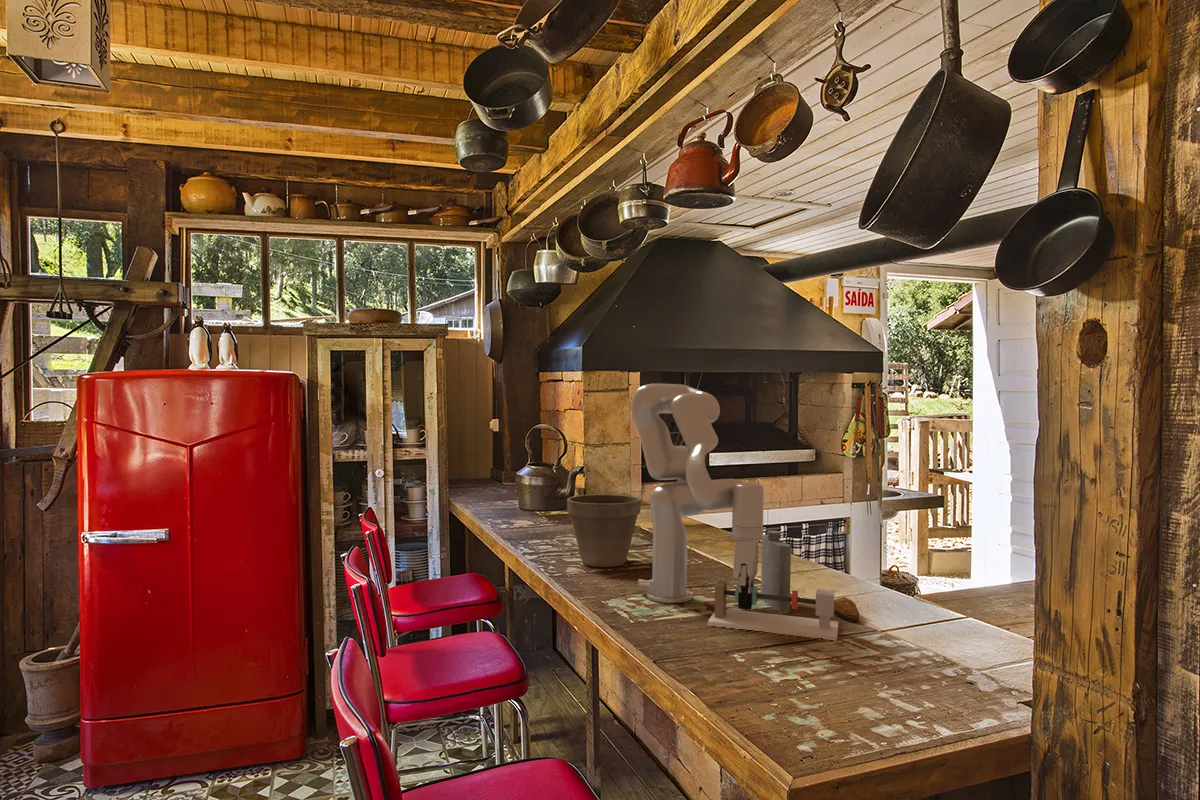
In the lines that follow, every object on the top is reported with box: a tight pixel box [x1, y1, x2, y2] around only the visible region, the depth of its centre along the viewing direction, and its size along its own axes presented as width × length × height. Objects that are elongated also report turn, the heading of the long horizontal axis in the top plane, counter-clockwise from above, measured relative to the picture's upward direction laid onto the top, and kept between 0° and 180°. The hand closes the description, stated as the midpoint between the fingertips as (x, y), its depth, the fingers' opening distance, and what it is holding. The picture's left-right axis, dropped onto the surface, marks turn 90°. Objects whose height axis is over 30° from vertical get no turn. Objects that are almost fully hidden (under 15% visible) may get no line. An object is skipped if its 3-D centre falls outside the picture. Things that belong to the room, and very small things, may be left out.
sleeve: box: [734, 584, 759, 606], centre depth 180 cm, size 5×4×4 cm
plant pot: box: [566, 493, 642, 568], centre depth 244 cm, size 25×25×22 cm
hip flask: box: [760, 530, 792, 614], centre depth 197 cm, size 16×4×20 cm, turn 7°
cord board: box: [707, 580, 839, 641], centre depth 178 cm, size 30×12×10 cm, turn 71°
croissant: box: [834, 596, 860, 623], centre depth 188 cm, size 14×7×5 cm, turn 6°
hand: (746, 605), depth 181 cm, fingers closed on sleeve, 3 cm apart
